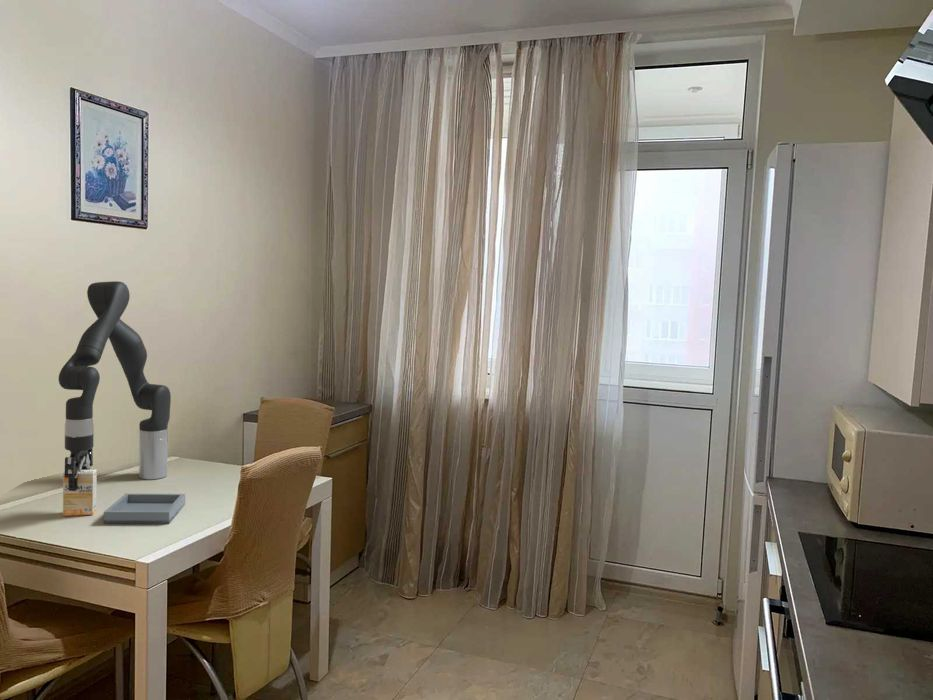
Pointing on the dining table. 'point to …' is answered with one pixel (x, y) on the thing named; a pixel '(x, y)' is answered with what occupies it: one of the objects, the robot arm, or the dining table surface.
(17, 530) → the dining table surface
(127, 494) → the tray
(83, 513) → the supplement box
